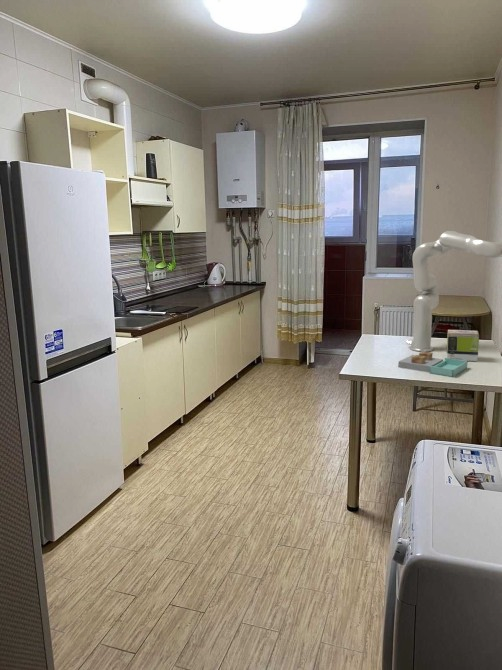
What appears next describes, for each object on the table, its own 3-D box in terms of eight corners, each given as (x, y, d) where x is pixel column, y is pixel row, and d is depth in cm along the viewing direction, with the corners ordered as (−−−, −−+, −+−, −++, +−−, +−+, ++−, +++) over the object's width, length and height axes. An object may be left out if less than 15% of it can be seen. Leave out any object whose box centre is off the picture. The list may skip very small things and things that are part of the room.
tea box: (476, 357, 274) (478, 330, 272) (477, 362, 265) (479, 333, 262) (446, 355, 279) (447, 328, 276) (446, 360, 270) (448, 332, 267)
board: (398, 367, 258) (398, 361, 257) (412, 360, 271) (412, 354, 270) (429, 372, 248) (430, 366, 247) (442, 365, 260) (443, 359, 260)
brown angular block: (418, 358, 261) (419, 353, 261) (422, 357, 265) (422, 351, 264) (428, 360, 258) (428, 354, 258) (432, 358, 262) (432, 352, 261)
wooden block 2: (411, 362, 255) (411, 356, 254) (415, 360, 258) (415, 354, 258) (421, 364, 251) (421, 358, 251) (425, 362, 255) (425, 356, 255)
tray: (429, 373, 246) (429, 366, 246) (444, 364, 261) (445, 357, 260) (452, 377, 239) (453, 369, 239) (467, 368, 254) (467, 361, 253)
